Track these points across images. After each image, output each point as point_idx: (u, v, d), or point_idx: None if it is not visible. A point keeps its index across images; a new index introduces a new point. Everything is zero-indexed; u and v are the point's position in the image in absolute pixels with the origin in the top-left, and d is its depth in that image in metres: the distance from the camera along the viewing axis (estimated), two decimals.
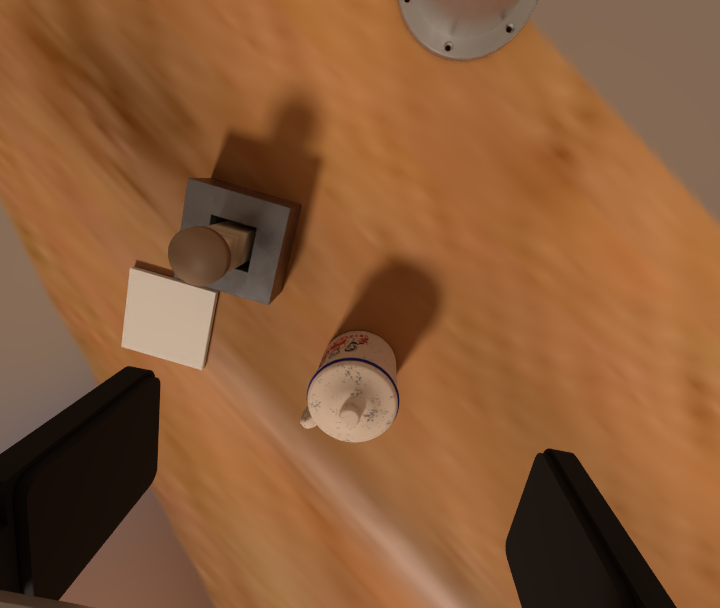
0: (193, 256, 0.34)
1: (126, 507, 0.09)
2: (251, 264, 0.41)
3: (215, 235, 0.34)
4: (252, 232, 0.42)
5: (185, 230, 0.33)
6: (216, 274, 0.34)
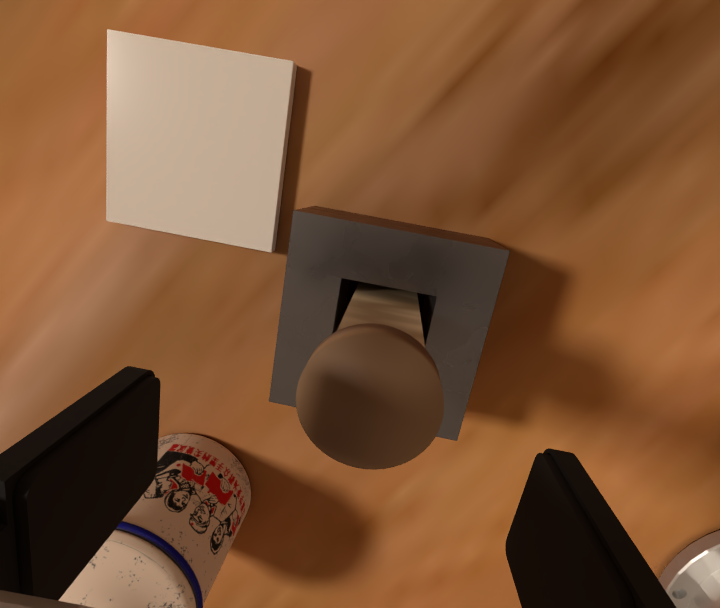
0: (370, 398, 0.13)
1: (126, 507, 0.09)
2: None
3: None
4: None
5: (435, 383, 0.13)
6: (332, 447, 0.14)
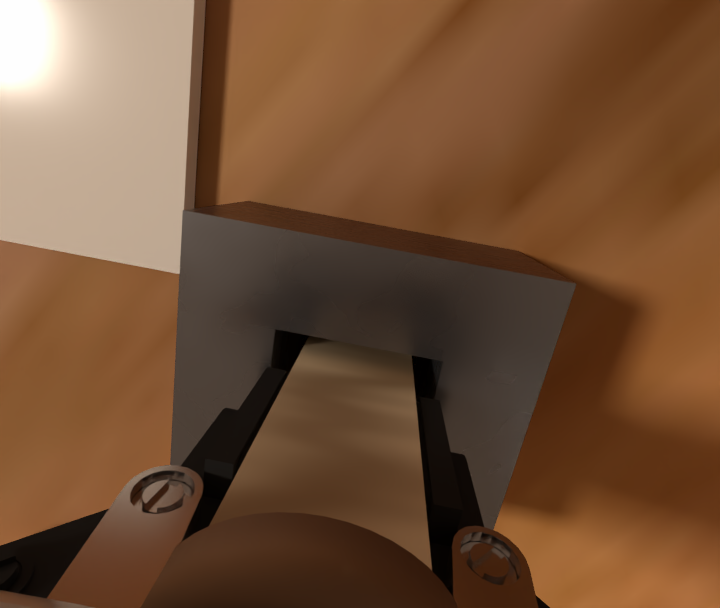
0: None
1: None
2: None
3: None
4: None
5: None
6: None
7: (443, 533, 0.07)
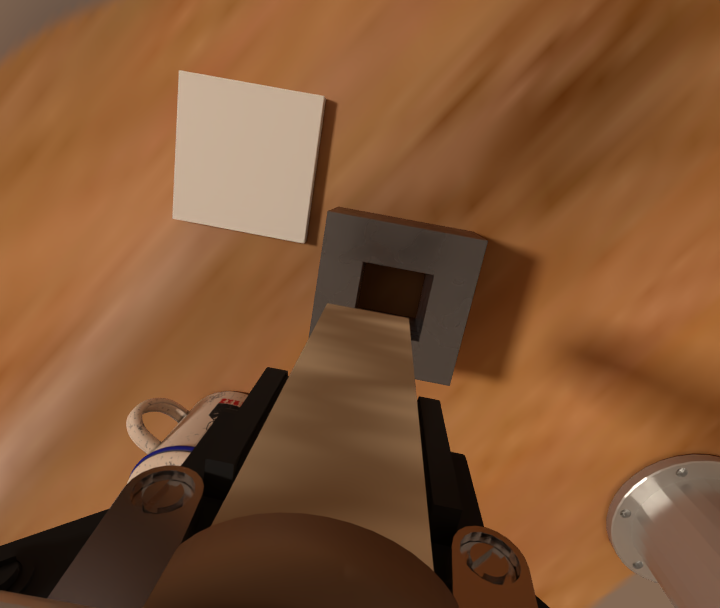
0: None
1: None
2: None
3: None
4: None
5: None
6: None
7: (443, 533, 0.07)
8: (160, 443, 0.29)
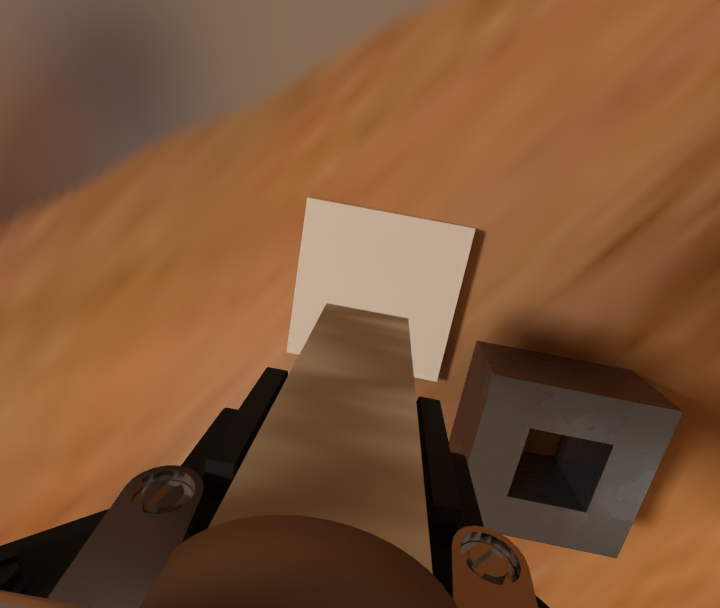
0: None
1: None
2: (521, 502, 0.24)
3: None
4: None
5: None
6: None
7: (443, 533, 0.07)
8: None
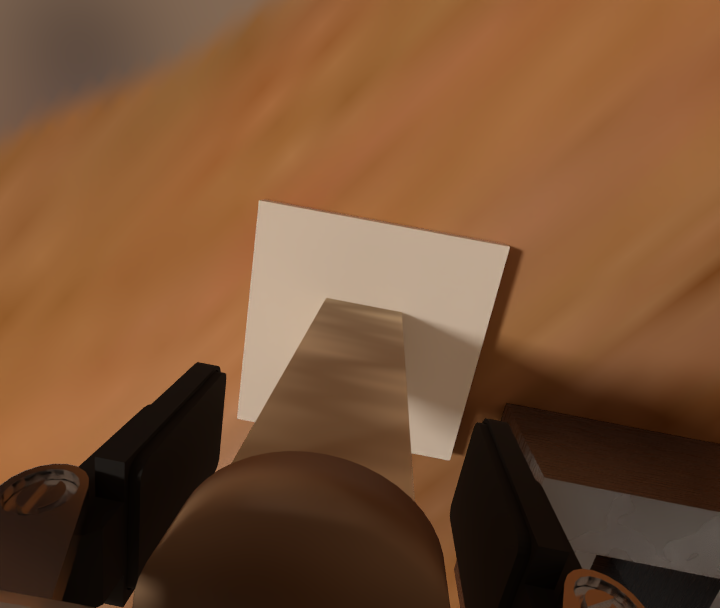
0: None
1: None
2: None
3: None
4: None
5: (436, 605, 0.06)
6: None
7: (546, 576, 0.07)
8: None
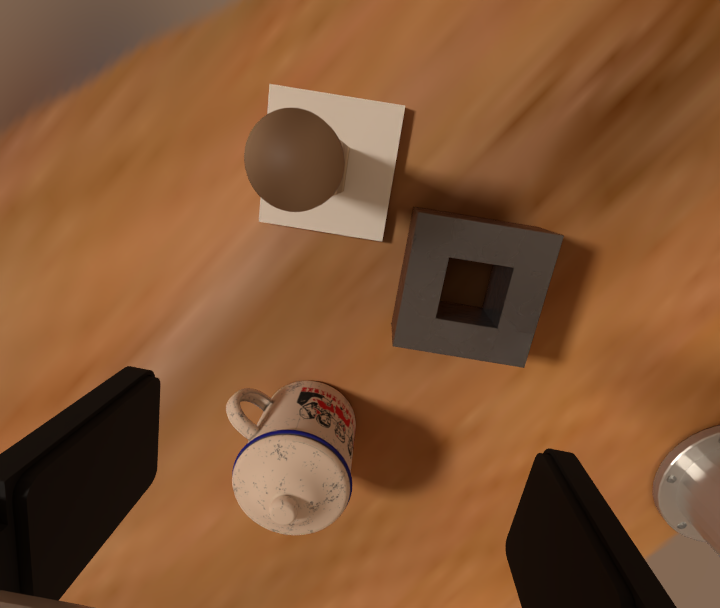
0: (293, 155, 0.20)
1: (126, 507, 0.09)
2: (447, 322, 0.31)
3: (334, 191, 0.21)
4: (337, 192, 0.29)
5: (335, 140, 0.20)
6: (270, 197, 0.21)
7: None
8: (259, 429, 0.32)
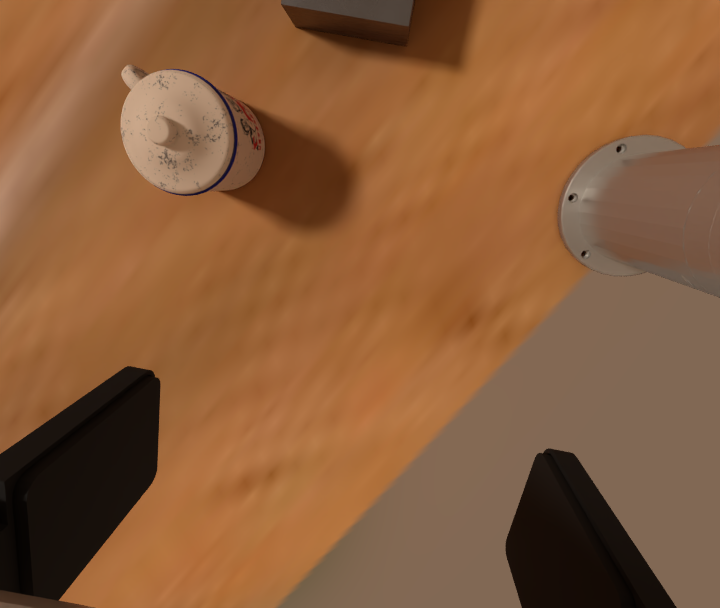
0: None
1: (126, 507, 0.09)
2: None
3: None
4: None
5: None
6: None
7: None
8: None
